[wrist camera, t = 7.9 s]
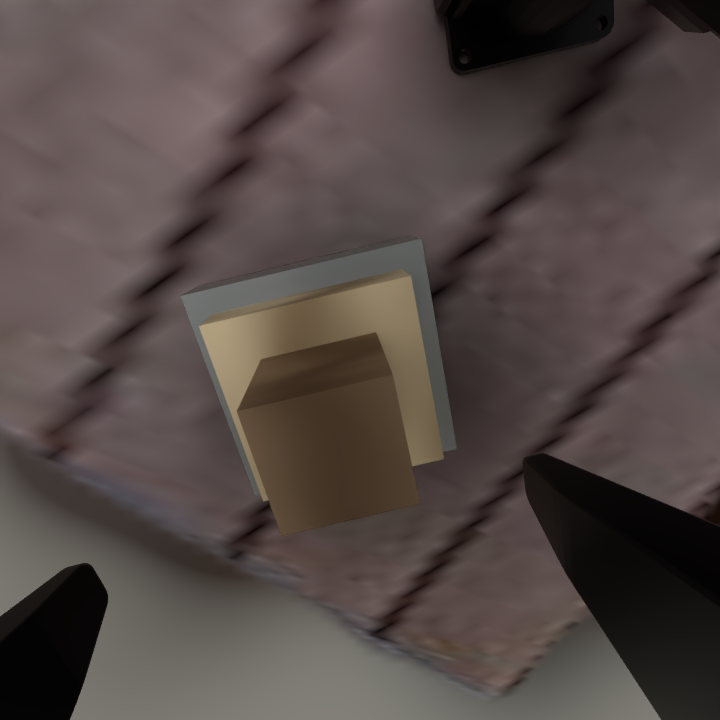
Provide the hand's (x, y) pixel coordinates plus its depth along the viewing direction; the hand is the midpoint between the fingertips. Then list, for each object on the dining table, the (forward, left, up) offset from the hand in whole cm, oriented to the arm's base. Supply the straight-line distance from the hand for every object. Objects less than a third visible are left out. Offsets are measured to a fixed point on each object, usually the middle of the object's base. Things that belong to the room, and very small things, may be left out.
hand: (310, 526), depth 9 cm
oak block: (0, +1, -10) cm, 10 cm away
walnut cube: (0, +1, -8) cm, 8 cm away
